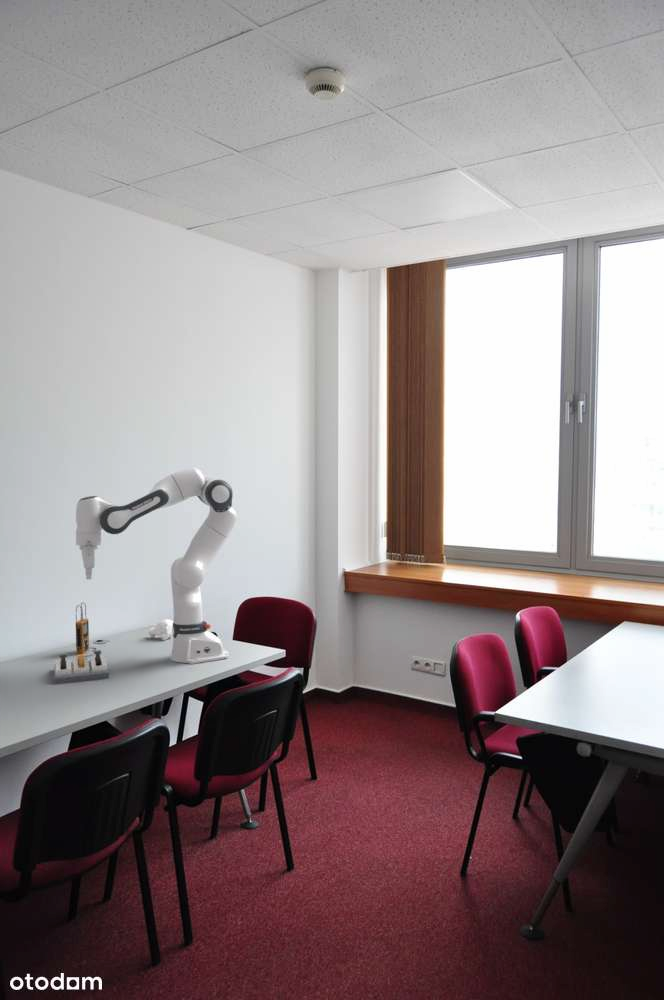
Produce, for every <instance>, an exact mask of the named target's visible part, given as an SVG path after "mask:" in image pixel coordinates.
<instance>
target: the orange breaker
mask: <svg viewBox="0 0 664 1000" xmlns="http://www.w3.org/2000/svg"><path fill="white" fill-rule="evenodd" d="M84 656H85V653H84V654H76V659H78V658H79V667H83V658H85V657H84Z"/></svg>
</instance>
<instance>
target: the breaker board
mask: <svg viewBox="0 0 664 1000" xmlns="http://www.w3.org/2000/svg"><path fill="white" fill-rule="evenodd" d="M109 672H110V671H109V669H108V664H107V661H106V656H105V655H100V664H96V656H89V658H88V657H84V658H83V667H79V658H73V659H72V661H71V658H70V659H65V667H64V668H61V659H60V660H55V664H54V684H55V685H57V684H58V685H59V684H68V683H76V682H77V683H78V682H86V681H97V680H104V679H109V678H110V673H109Z"/></svg>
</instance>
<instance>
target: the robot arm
mask: <svg viewBox="0 0 664 1000" xmlns="http://www.w3.org/2000/svg"><path fill="white" fill-rule="evenodd" d="M233 496H234V495H233V489H232V486H231V485H230V483H228V482H227V481H226V480H223V479H220V478H205V476H204V474H203V473H202V471H200V470H199V469H198V468H197V467H189V468H186V469H185V468H184V469H182V470H179V471H177V472H174V473H172V474H169V475H168V476H165V477H164V478H162V479H161V480H159V481H158V482H157V483H155V484H154V485H153V487H152V488H151V490H150V491H149V492H148V493H146V494H145V495H144V496H141V497H140V498H137V499H135V500H134V501H131V502H129V503H127V504H125V505H117V504H113V503H111V502H108V501H106V500H104V499H103V498H100V497H99V496H98V495H93V496H91V495H90V496H85V497H82V498H80V499H79V500H78V501H77V504H76V509H75V523H76V529H75V545H76V546H79V550H81V557H82V563H83V568H84V569H85V579H86V580H92V578H93V577H92V576H93V575H92V574H93V569H94V568H95V558H96V557H95V555H96V554H95V550H98V546H101V544H102V530H103V531H104V532H106V533H107V534H109V535H110V534H111V535H119V534H122V533H123V532H124V531H126V530H127V529H128V528H129V526H130V525H131V523H133V522H134V521H136V520H138V519H139V518H142V517H144V516H146V515H148V514H151V512H153V511H156V510H159V509H163V508H169V507H171V506H174V505H177V504H180V503H182V502H184V501H186V500H188V499H190V498H193V497H197V498H198V499H199V500H200V502H202V504H204V505H207V506H209V512H208V515H207V517H206V518H205V520H204V521H203V523H202V524H201V525H200V527H199V528H198V530H197V531H196V533H195V535H194V536H193V537H192V539H191V540H190V541H191V542H190V543H189V546H188V547H187V549H186V551H185V553H184V555H183V556H180V557H178V558H177V559H175V560H174V561H173V563H172V564H171V567H170V580H171V581H170V583H171V593H172V605H173V608H172V609H173V613H172V614H173V626H172V633H173V635H172V638H173V641H172V647H171V648H172V649H171V655H170V661H173V662H176V663H184V664H191V665H193V664H198V663H199V664H200V663H205V662H212V661H217V660H218V661H219V660H224V658H225V659H228V658H229V657H230V653H229V651H228V650H226V649H225V648H224V647H223V646H224V645H223V643H222V642H223V641H222V640H221V638H219V637H218V636H217V635H215V634H214V633H212V632H211V631H210V630H209V629H211V624H210V623H209V622H206V621H205V620H203V598H202V590H201V585H202V583H203V582H204V579H205V577H206V575H207V574H208V572H209V570H210V568H211V566H212V564H213V562H214V560H215V558H216V556H217V554H218V552H219V551H220V549H221V548H222V546H223V545H224V544H225V542H226V540H227V539H228V537H229V536H230V534H231V532H232V530H233V528H234V526H235V525H236V522H237V520H238V514H237V512H236V510H235V509H234V508H233V507H232V506H233V503H232V502H233Z"/></svg>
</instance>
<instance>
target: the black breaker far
mask: <svg viewBox="0 0 664 1000" xmlns="http://www.w3.org/2000/svg"><path fill="white" fill-rule="evenodd" d="M66 658H67V653H59V659H60V660H61V668H64V667H65V660H66Z"/></svg>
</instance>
